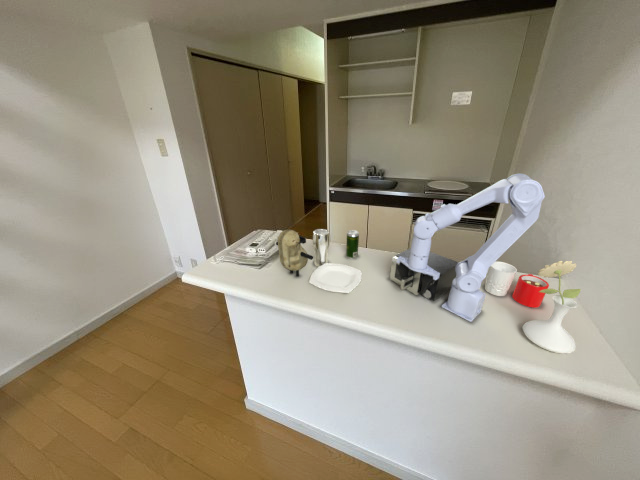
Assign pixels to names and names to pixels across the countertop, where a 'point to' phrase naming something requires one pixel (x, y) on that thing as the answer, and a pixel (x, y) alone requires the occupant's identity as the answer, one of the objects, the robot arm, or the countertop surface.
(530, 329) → the flower in vase
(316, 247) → the silver metal tumbler
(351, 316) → the countertop surface
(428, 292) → the microwave
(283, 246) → the figurine
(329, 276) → the plate
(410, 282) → the microwave door
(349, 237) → the beer can
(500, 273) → the white cup
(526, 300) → the mug
